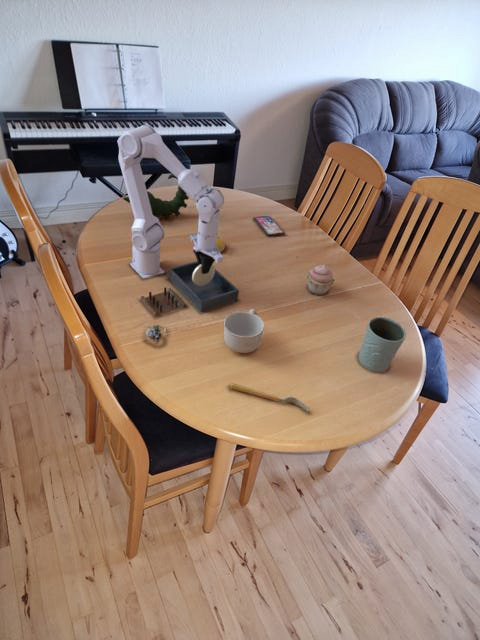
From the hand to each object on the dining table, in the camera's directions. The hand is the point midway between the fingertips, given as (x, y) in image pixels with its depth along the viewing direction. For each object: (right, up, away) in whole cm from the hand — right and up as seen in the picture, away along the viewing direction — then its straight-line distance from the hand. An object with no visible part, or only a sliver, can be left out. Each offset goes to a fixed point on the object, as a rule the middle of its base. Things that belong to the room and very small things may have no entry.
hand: (203, 271), depth 134 cm
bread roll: (+1, +12, +26) cm, 29 cm away
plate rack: (-12, -10, -4) cm, 16 cm away
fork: (+18, -34, -27) cm, 47 cm away
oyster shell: (-12, -20, -15) cm, 27 cm away
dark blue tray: (-1, -5, +4) cm, 7 cm away
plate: (-1, -4, +3) cm, 5 cm away
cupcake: (+37, -5, +13) cm, 40 cm away
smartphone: (+23, +23, +44) cm, 55 cm away
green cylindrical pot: (+49, -27, -11) cm, 56 cm away
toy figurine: (-22, +25, +38) cm, 51 cm away
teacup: (+12, -21, -12) cm, 27 cm away
